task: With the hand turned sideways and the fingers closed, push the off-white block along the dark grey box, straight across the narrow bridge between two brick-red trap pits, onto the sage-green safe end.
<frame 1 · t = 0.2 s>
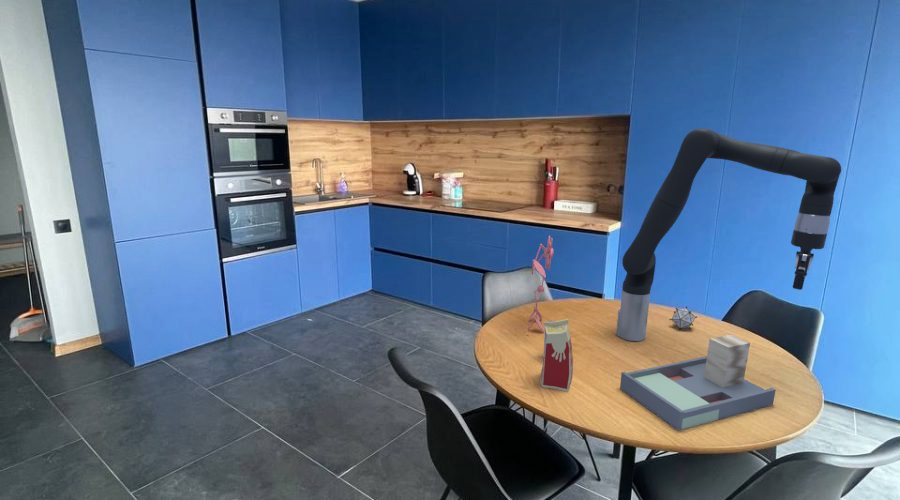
hand: (797, 285, 133), 29 cm above the table, tool pointing down, fingers open, 8 cm apart
off-white block: (723, 379, 131), point 3 cm above the table, touching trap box
figurine: (546, 327, 176), on the table
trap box: (698, 395, 129), on the table
milk carton: (555, 382, 136), on the table
energy drink: (551, 358, 151), on the table
game die: (681, 328, 175), on the table
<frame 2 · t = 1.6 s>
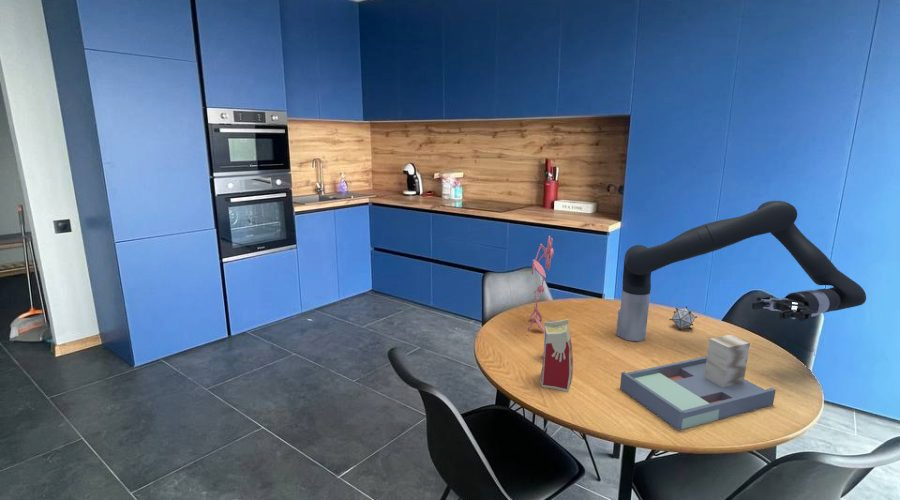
hand: (766, 310, 131), 22 cm above the table, tool horizontal, fingers open, 7 cm apart
nothing on the table moved.
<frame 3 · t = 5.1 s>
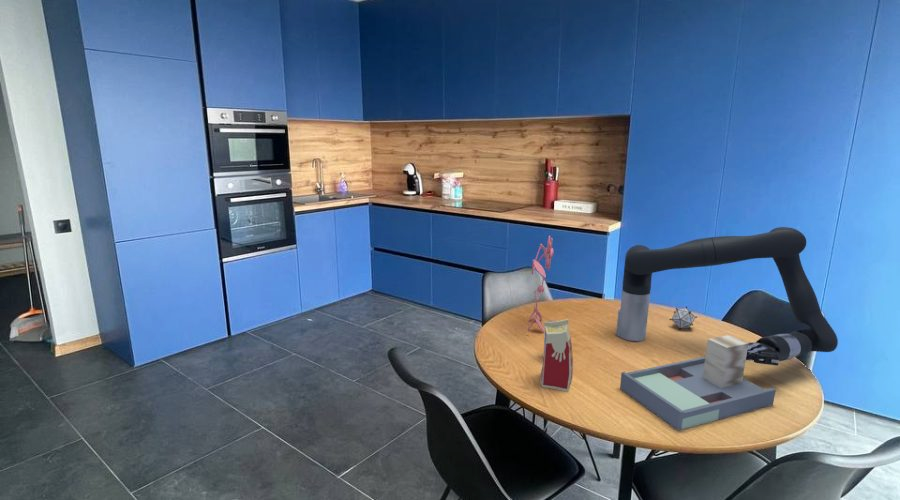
hand: (735, 356, 131), 10 cm above the table, tool horizontal, fingers closed
off-white block: (721, 380, 131), point 3 cm above the table
everything else where it was.
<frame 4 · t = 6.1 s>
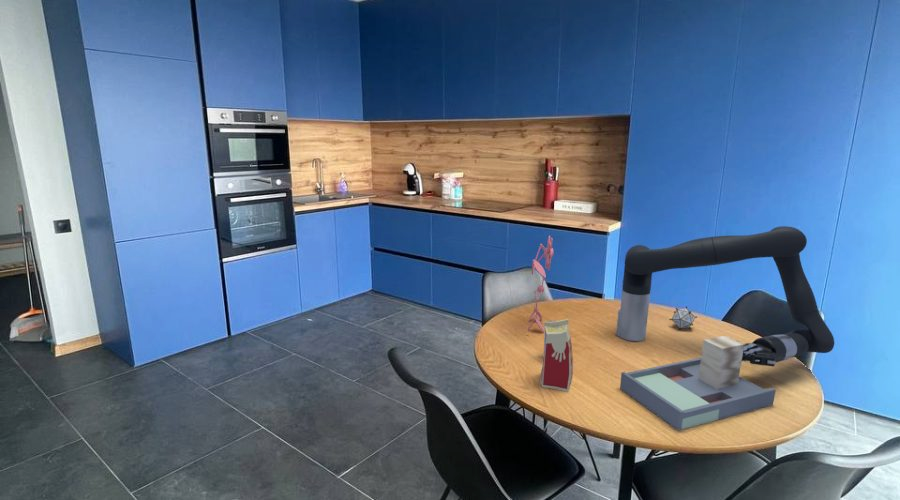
hand: (731, 357, 130), 10 cm above the table, tool horizontal, fingers closed
off-white block: (717, 381, 131), point 3 cm above the table, touching gripper, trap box
everything else where it was.
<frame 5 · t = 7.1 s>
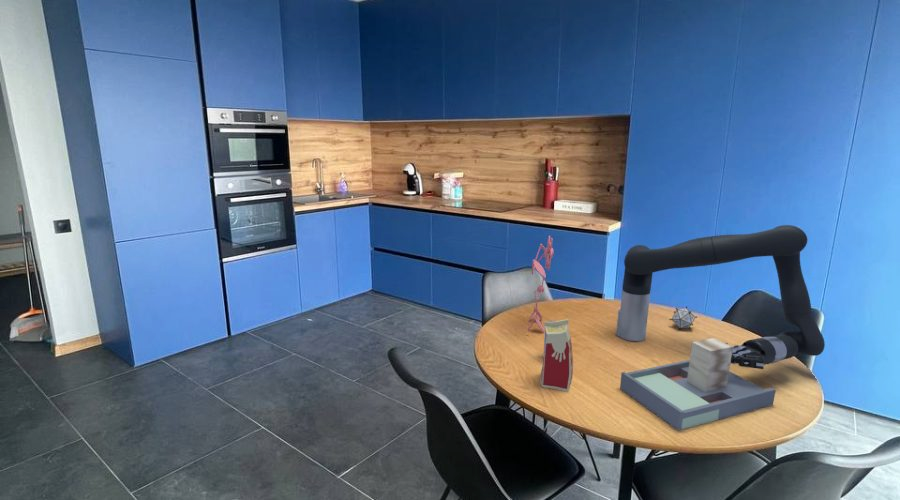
hand: (720, 360, 129), 10 cm above the table, tool horizontal, fingers closed
off-white block: (706, 384, 129), point 3 cm above the table, touching gripper
everything else where it was.
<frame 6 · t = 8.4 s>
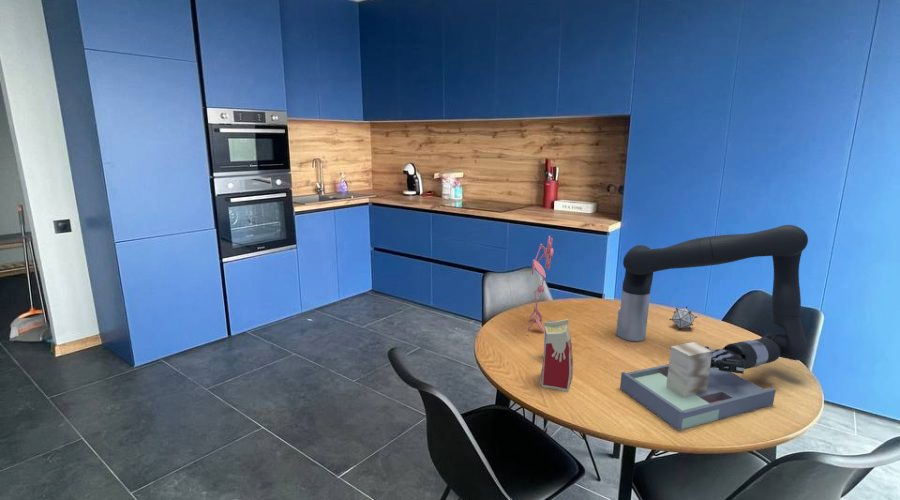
hand: (699, 364, 126), 10 cm above the table, tool horizontal, fingers closed
off-white block: (686, 389, 126), point 3 cm above the table, touching gripper, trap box
everything else where it was.
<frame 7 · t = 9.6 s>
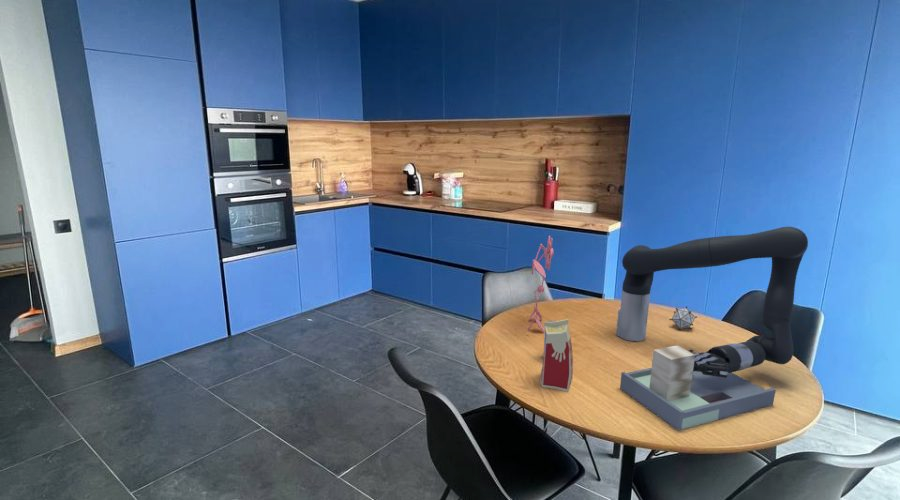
hand: (682, 368, 124), 10 cm above the table, tool horizontal, fingers closed
off-white block: (669, 393, 124), point 3 cm above the table, touching gripper, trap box
everything else where it was.
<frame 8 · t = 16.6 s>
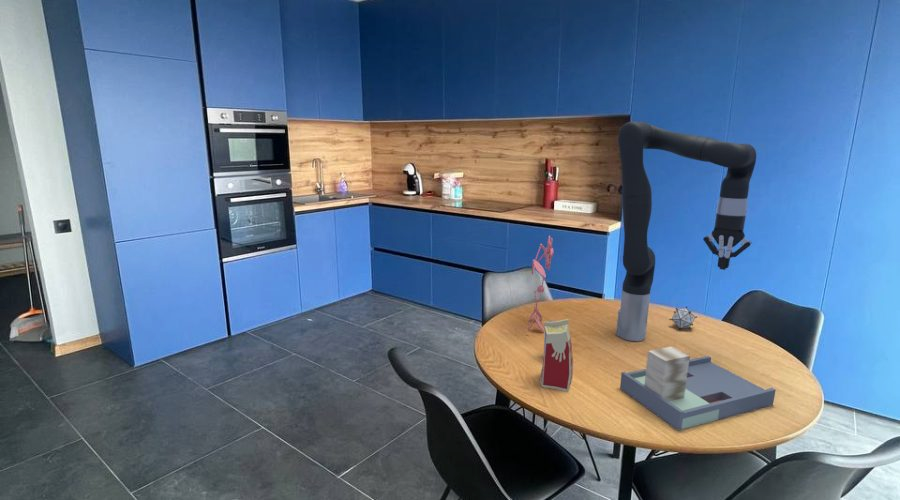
hand: (722, 269, 141), 31 cm above the table, tool pointing down, fingers closed
off-white block: (663, 394, 124), point 3 cm above the table, touching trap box
everything else where it was.
at the end: off-white block 1.2 cm from the target spot on the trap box, point 3.0 cm above the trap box's base; off-white block tilted 0°; off-white block moved 22.0 cm from its start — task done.
